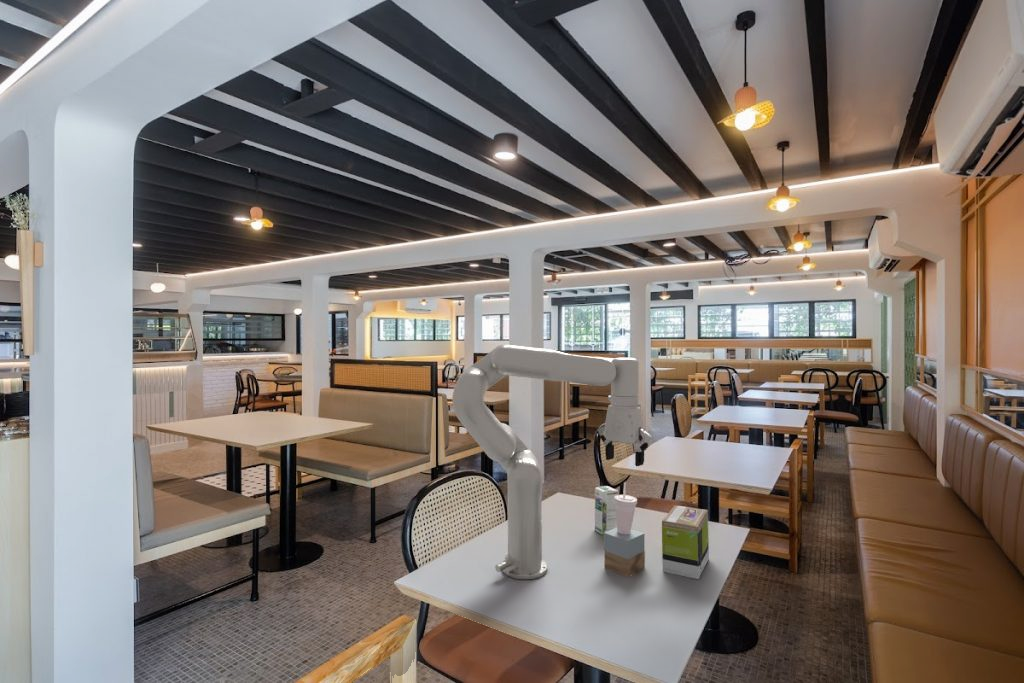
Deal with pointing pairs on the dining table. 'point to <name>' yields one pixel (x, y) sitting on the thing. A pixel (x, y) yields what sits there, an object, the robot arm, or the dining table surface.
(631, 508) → the smoothie
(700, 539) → the tea box
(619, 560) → the tower base
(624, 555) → the tower top
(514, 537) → the robot arm
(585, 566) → the dining table surface
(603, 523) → the syrup box
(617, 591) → the dining table surface
